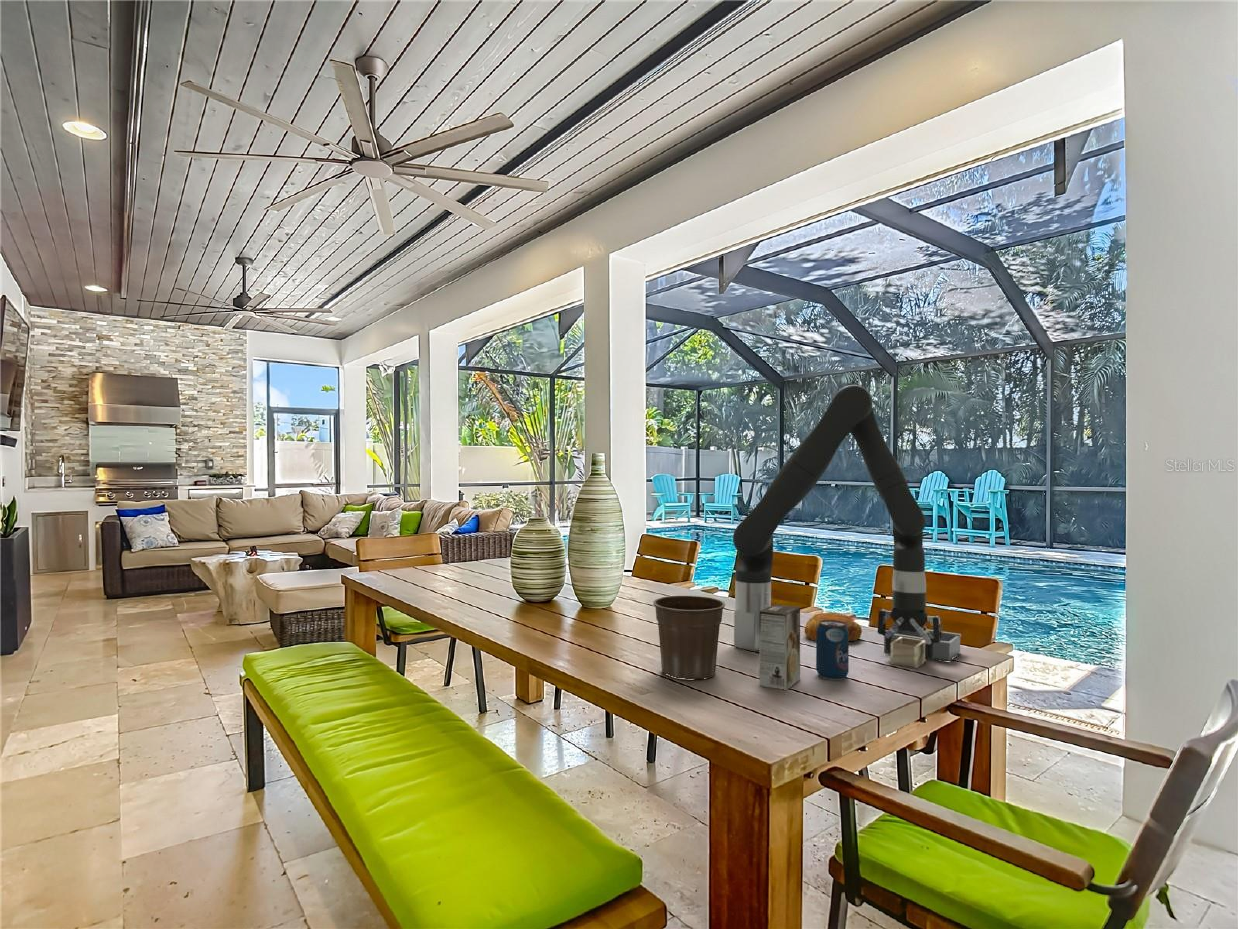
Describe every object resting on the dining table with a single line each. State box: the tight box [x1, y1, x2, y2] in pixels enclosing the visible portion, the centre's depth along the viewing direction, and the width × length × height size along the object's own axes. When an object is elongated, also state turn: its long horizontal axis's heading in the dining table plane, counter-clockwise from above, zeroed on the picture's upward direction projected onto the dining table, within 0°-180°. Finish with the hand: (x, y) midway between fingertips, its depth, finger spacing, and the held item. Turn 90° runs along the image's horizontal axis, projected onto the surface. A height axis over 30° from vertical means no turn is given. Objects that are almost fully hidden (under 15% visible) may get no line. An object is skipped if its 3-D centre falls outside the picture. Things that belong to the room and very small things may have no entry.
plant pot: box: [652, 595, 726, 680], centre depth 153 cm, size 16×16×16 cm
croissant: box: [804, 612, 863, 642], centre depth 188 cm, size 14×16×8 cm
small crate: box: [890, 637, 927, 669], centre depth 163 cm, size 8×6×5 cm
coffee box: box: [758, 604, 801, 691], centre depth 146 cm, size 9×6×16 cm
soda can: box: [815, 620, 850, 681], centre depth 151 cm, size 7×7×12 cm
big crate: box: [883, 628, 962, 662], centre depth 172 cm, size 12×16×5 cm
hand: (909, 656), depth 163 cm, fingers open, 8 cm apart
